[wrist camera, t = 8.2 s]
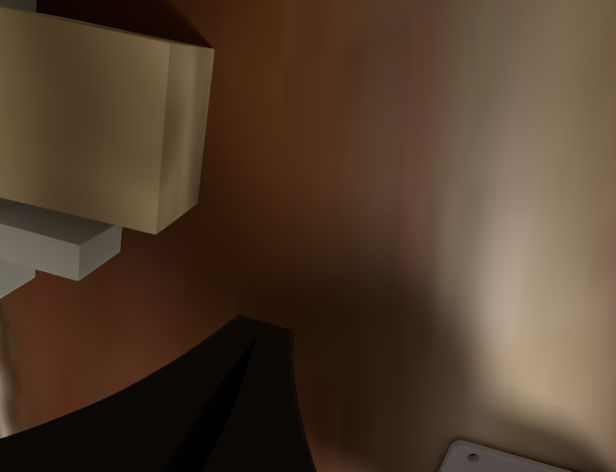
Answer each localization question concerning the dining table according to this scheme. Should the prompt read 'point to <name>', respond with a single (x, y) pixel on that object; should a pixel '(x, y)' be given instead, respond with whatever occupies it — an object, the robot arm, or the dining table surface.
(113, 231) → the bracket
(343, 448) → the dining table surface
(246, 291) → the dining table surface
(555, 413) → the dining table surface
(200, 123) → the maple block
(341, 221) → the dining table surface
